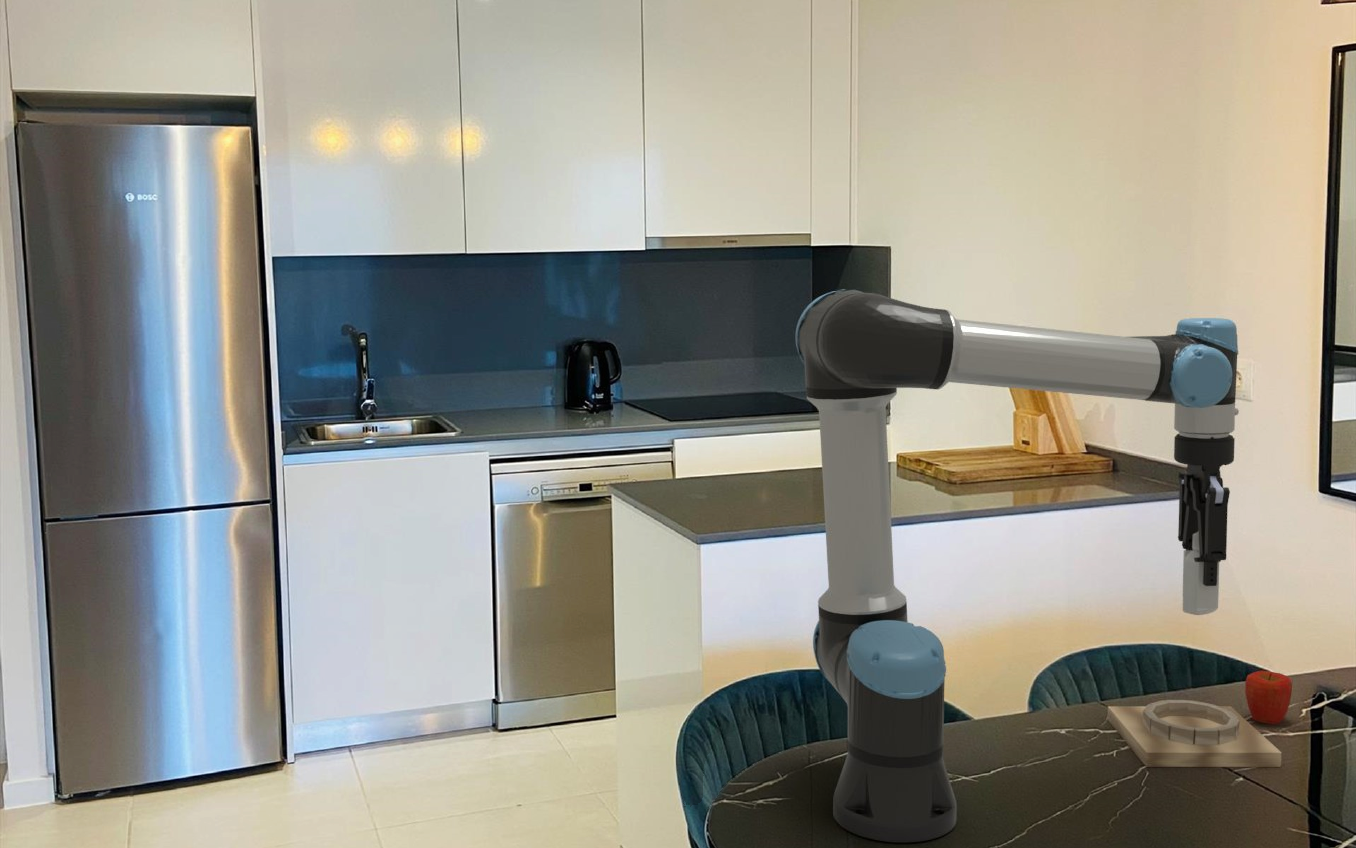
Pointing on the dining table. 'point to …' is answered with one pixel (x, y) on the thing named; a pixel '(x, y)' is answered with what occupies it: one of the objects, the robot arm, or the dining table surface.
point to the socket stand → (1192, 735)
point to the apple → (1268, 696)
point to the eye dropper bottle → (1192, 581)
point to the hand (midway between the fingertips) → (1199, 601)
